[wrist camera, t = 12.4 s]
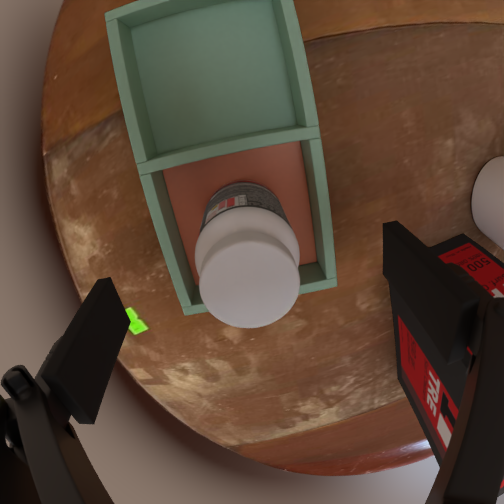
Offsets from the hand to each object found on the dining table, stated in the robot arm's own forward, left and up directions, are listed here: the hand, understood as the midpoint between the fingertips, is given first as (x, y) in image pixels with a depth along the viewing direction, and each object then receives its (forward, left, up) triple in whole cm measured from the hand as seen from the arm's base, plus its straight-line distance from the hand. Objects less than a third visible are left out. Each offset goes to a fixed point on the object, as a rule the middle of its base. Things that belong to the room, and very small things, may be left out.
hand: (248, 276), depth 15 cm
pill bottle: (0, 0, -10) cm, 10 cm away
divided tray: (-5, 0, -10) cm, 12 cm away
